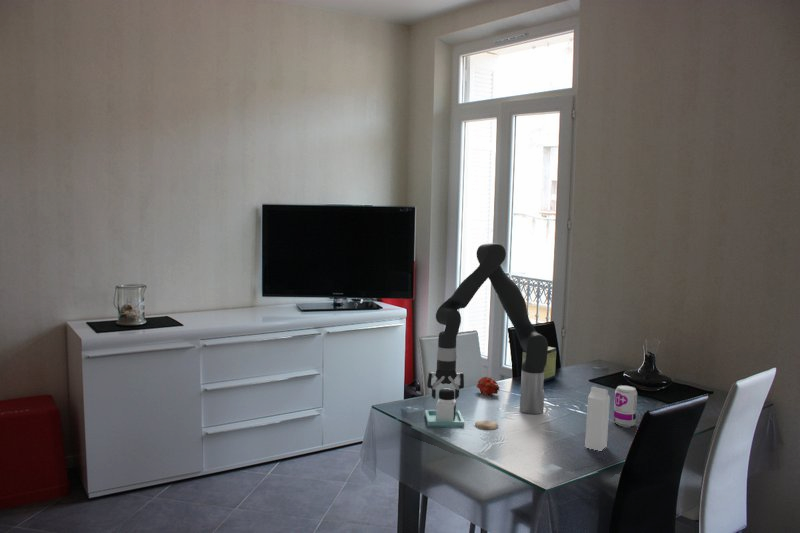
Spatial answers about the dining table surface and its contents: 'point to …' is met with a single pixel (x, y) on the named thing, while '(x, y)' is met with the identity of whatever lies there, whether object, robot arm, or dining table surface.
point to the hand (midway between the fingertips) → (445, 398)
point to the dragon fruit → (487, 386)
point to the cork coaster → (486, 425)
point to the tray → (433, 423)
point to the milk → (597, 419)
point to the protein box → (550, 365)
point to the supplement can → (625, 405)
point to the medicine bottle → (446, 406)
